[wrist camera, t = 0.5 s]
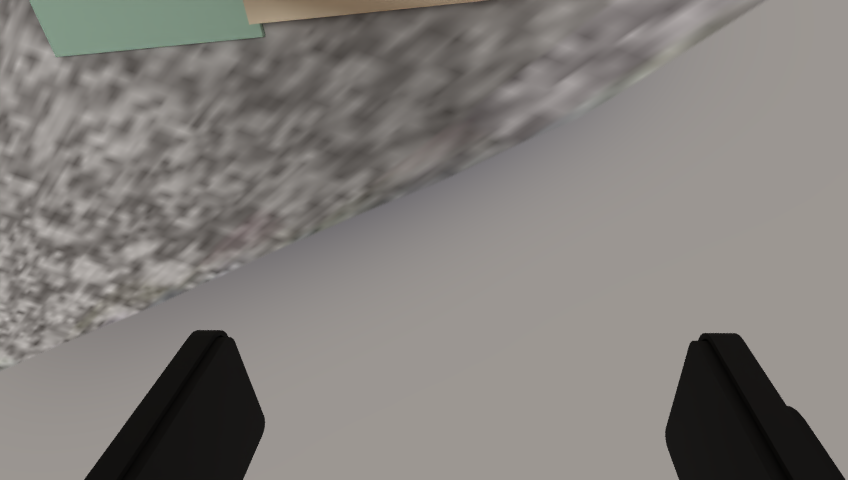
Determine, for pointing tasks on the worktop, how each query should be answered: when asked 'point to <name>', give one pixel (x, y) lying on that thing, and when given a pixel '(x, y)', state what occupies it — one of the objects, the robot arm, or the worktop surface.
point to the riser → (327, 8)
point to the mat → (140, 24)
